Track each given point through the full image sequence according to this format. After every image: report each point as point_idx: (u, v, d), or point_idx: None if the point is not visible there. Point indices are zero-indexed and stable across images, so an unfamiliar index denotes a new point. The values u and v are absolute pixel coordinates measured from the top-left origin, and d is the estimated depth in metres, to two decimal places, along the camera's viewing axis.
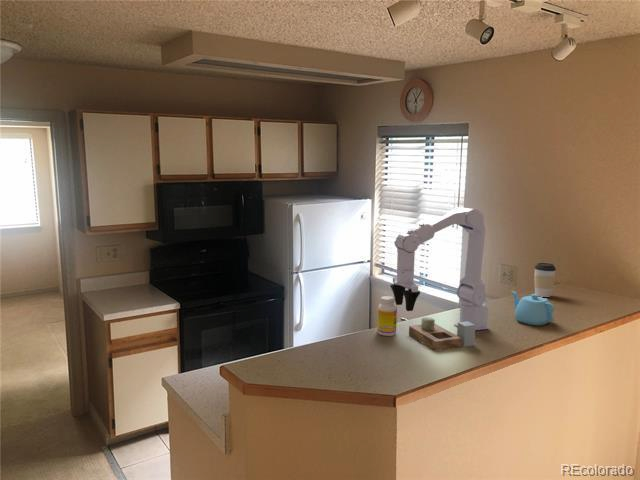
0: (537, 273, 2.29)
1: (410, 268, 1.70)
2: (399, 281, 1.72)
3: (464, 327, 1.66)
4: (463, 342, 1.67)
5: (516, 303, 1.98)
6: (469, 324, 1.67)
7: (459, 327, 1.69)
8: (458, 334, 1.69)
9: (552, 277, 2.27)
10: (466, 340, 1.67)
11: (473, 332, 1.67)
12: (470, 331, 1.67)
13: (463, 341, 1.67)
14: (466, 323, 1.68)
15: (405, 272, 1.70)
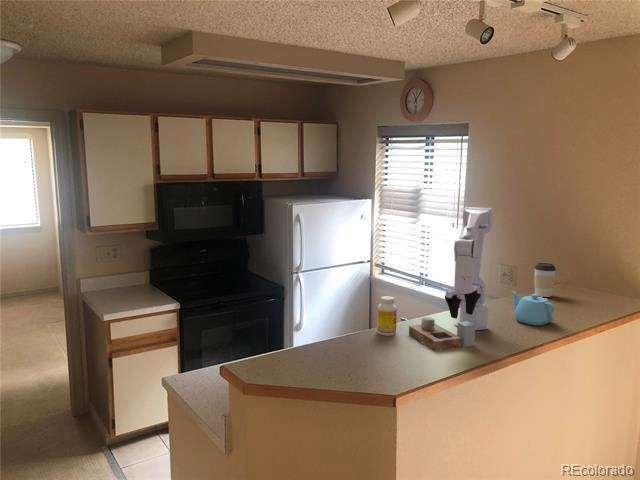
0: (537, 273, 2.29)
1: (473, 274, 1.65)
2: None
3: (464, 327, 1.66)
4: (463, 342, 1.67)
5: (516, 303, 1.98)
6: (469, 324, 1.67)
7: (459, 327, 1.69)
8: (458, 334, 1.69)
9: (552, 277, 2.27)
10: (466, 340, 1.67)
11: (473, 332, 1.67)
12: (470, 331, 1.67)
13: (463, 341, 1.67)
14: (466, 323, 1.68)
15: (455, 277, 1.66)
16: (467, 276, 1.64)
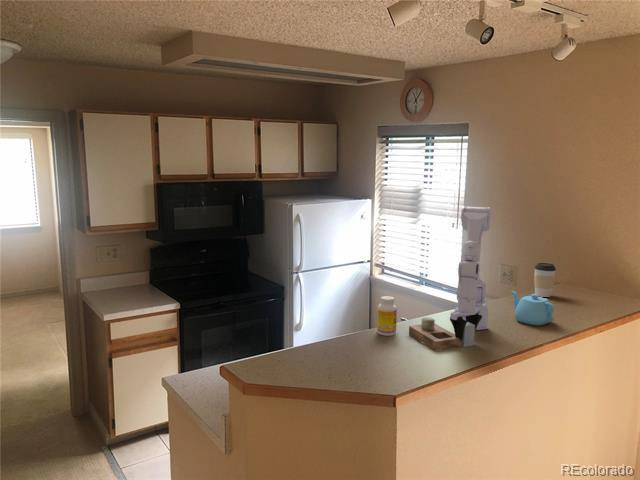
0: (537, 273, 2.29)
1: (476, 295, 1.66)
2: None
3: None
4: (463, 342, 1.67)
5: (516, 303, 1.98)
6: (469, 324, 1.67)
7: None
8: None
9: (552, 277, 2.27)
10: (465, 340, 1.66)
11: (473, 332, 1.67)
12: (469, 331, 1.67)
13: (463, 341, 1.67)
14: (466, 323, 1.68)
15: (459, 299, 1.66)
16: (471, 298, 1.64)
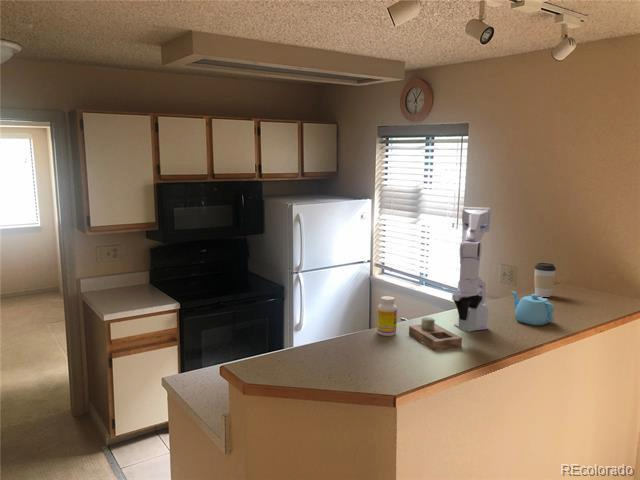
0: (537, 273, 2.29)
1: (478, 276, 1.65)
2: None
3: (468, 312, 1.65)
4: (467, 327, 1.65)
5: (516, 303, 1.98)
6: (471, 309, 1.67)
7: None
8: (460, 320, 1.67)
9: (552, 277, 2.27)
10: (470, 325, 1.65)
11: (475, 316, 1.67)
12: (473, 316, 1.66)
13: (467, 326, 1.65)
14: None
15: (460, 280, 1.65)
16: (473, 278, 1.63)
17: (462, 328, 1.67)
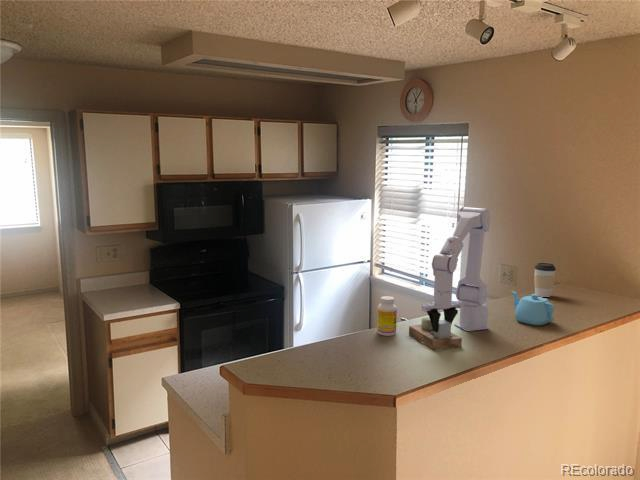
0: (537, 273, 2.29)
1: (451, 289, 1.64)
2: None
3: (439, 325, 1.65)
4: None
5: (516, 303, 1.98)
6: (445, 322, 1.66)
7: None
8: (434, 332, 1.68)
9: (552, 277, 2.27)
10: (441, 338, 1.66)
11: (449, 330, 1.66)
12: (445, 329, 1.66)
13: None
14: (442, 321, 1.67)
15: (434, 291, 1.66)
16: (444, 291, 1.63)
17: None
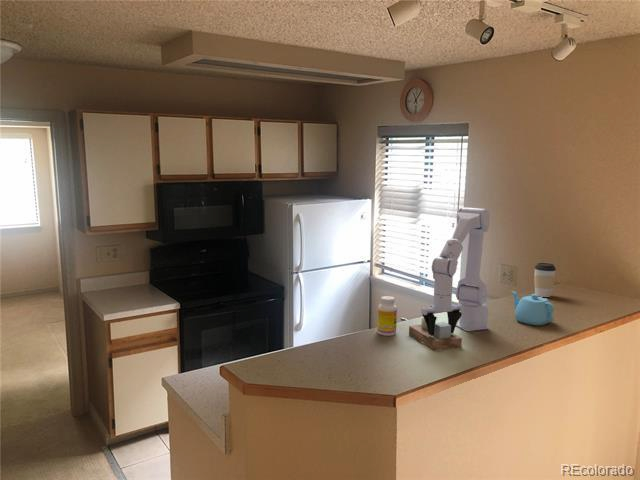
0: (537, 273, 2.29)
1: (451, 292, 1.64)
2: None
3: (440, 328, 1.65)
4: None
5: (516, 303, 1.98)
6: (445, 325, 1.66)
7: (435, 328, 1.68)
8: (434, 335, 1.68)
9: (552, 277, 2.27)
10: None
11: (449, 333, 1.66)
12: (445, 332, 1.66)
13: None
14: (442, 324, 1.67)
15: None
16: (444, 294, 1.63)
17: None
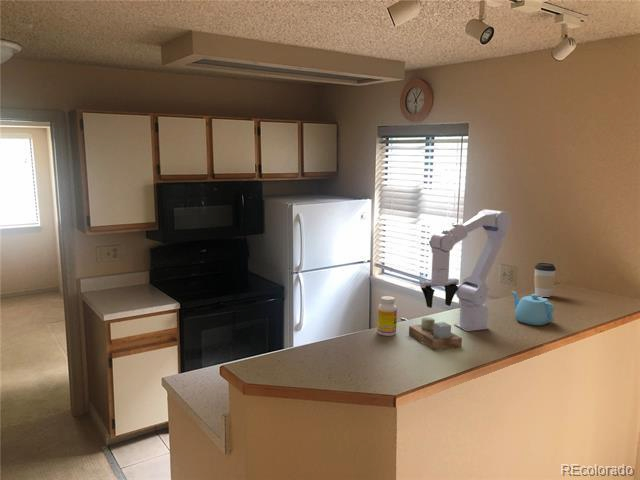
0: (537, 273, 2.29)
1: (446, 267, 1.73)
2: None
3: (440, 328, 1.65)
4: None
5: (516, 303, 1.98)
6: (445, 325, 1.66)
7: (435, 328, 1.68)
8: (434, 335, 1.68)
9: (552, 277, 2.27)
10: None
11: (449, 333, 1.66)
12: (445, 332, 1.66)
13: None
14: (442, 324, 1.67)
15: None
16: (438, 268, 1.73)
17: None
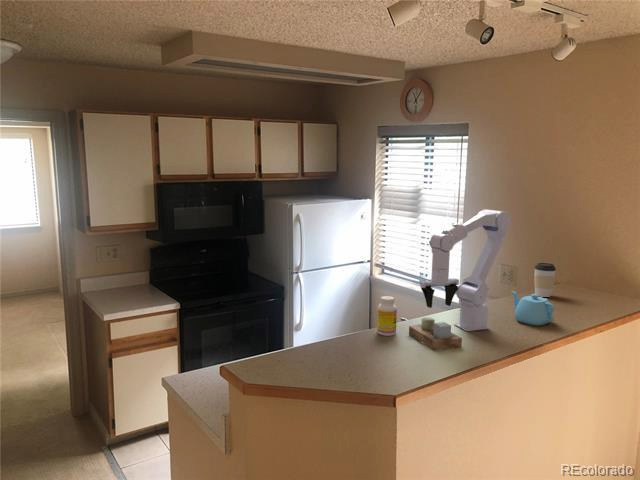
0: (537, 273, 2.29)
1: (446, 267, 1.73)
2: None
3: (440, 328, 1.65)
4: None
5: (516, 303, 1.98)
6: (445, 325, 1.66)
7: (435, 328, 1.68)
8: (434, 335, 1.68)
9: (552, 277, 2.27)
10: None
11: (449, 333, 1.66)
12: (445, 332, 1.66)
13: None
14: (442, 324, 1.67)
15: None
16: (438, 268, 1.73)
17: None
